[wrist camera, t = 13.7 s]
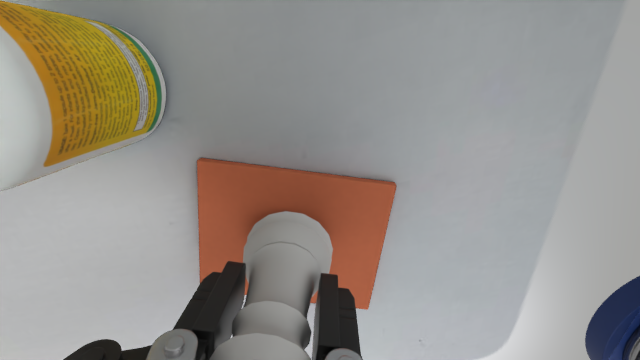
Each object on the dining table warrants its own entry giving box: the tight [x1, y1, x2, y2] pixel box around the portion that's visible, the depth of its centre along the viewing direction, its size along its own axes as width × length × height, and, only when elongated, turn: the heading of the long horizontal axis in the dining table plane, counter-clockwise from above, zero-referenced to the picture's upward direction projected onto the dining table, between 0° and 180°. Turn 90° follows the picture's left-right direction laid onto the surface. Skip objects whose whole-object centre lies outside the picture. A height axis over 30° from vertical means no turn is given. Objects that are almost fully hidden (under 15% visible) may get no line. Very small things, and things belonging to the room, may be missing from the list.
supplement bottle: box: [0, 1, 166, 191], centre depth 9 cm, size 5×5×10 cm
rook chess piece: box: [210, 211, 333, 360], centre depth 12 cm, size 4×4×8 cm
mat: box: [197, 158, 396, 309], centre depth 16 cm, size 10×8×1 cm
